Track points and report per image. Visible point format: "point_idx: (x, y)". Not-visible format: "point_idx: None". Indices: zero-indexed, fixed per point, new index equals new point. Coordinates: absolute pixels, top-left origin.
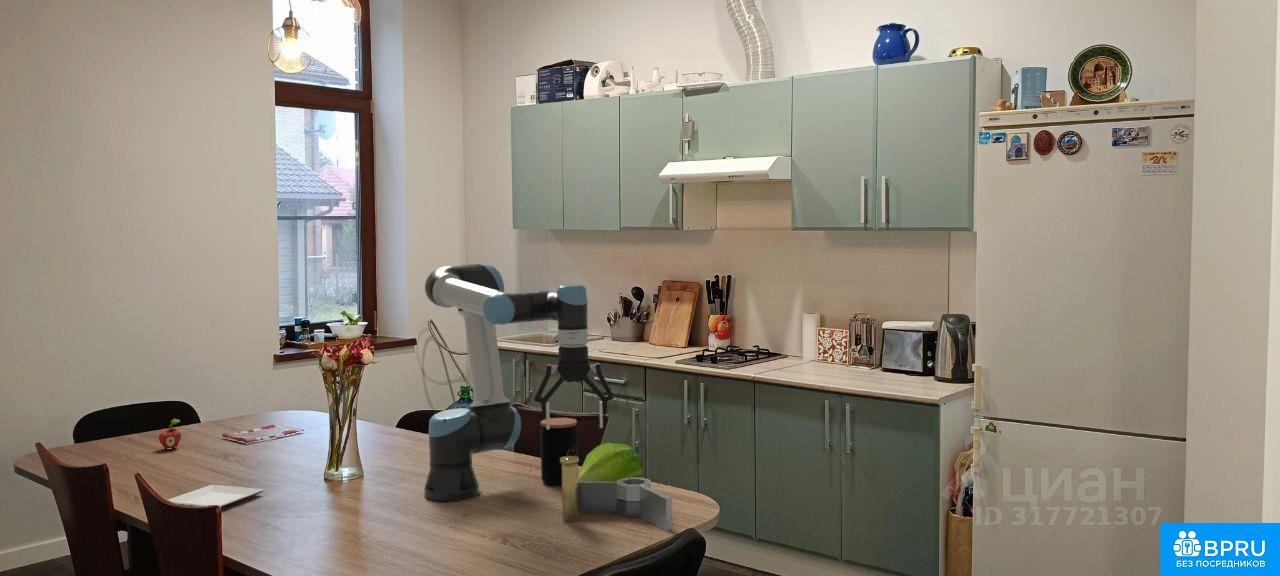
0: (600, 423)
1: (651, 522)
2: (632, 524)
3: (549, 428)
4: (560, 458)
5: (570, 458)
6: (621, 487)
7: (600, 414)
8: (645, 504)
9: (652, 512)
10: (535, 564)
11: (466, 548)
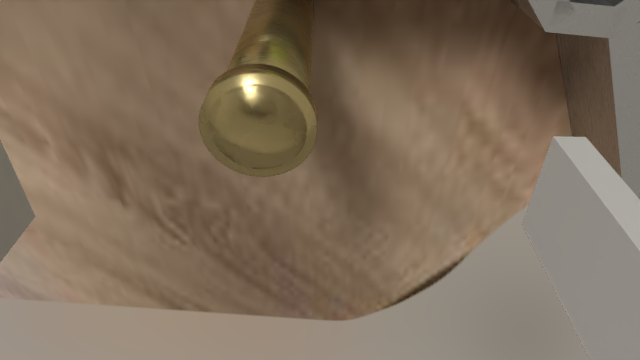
0: (544, 257)
1: (563, 74)
2: (495, 80)
3: (29, 217)
4: (202, 127)
5: (265, 135)
6: (526, 2)
7: (589, 339)
8: (581, 59)
9: (580, 98)
10: (229, 310)
11: (36, 222)
